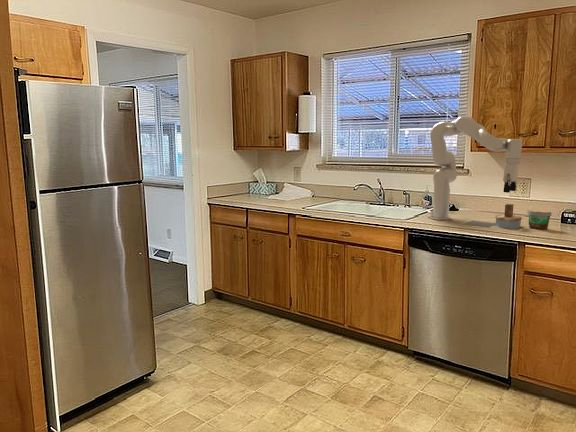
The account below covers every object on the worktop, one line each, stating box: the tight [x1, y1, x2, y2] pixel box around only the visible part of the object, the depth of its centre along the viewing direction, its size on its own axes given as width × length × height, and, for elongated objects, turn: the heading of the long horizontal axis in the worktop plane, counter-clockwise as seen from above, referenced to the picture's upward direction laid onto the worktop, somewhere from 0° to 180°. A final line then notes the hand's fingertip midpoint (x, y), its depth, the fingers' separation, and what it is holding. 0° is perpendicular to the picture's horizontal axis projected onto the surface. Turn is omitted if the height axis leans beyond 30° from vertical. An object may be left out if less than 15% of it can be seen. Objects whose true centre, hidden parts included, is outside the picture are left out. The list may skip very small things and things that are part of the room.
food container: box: [527, 209, 553, 231], centre depth 263 cm, size 12×6×10 cm, turn 56°
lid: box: [495, 203, 523, 221], centre depth 268 cm, size 14×14×8 cm
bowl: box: [495, 218, 522, 229], centre depth 269 cm, size 12×12×5 cm
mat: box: [463, 220, 496, 228], centre depth 277 cm, size 15×15×1 cm
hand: (509, 191), depth 266 cm, fingers open, 9 cm apart
